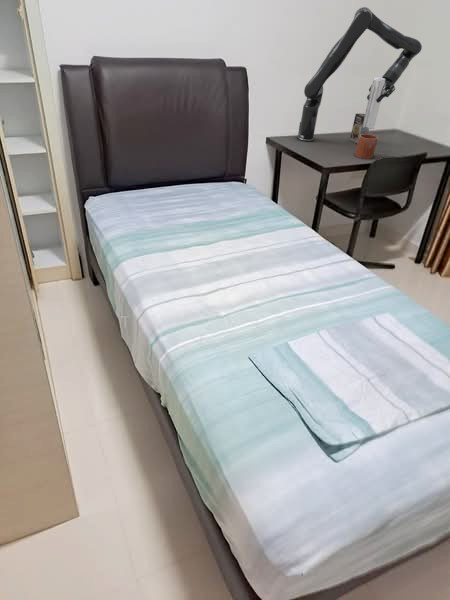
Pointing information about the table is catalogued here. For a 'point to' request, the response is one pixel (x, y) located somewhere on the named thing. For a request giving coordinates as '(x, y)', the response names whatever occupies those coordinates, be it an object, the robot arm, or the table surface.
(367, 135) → the cup
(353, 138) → the coffee box
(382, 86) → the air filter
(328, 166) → the table surface
